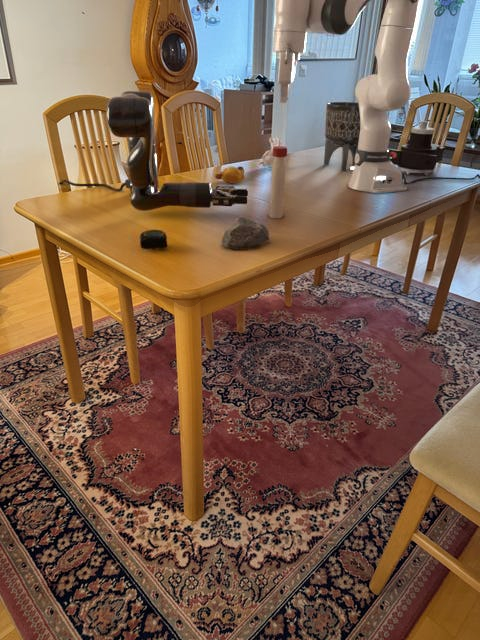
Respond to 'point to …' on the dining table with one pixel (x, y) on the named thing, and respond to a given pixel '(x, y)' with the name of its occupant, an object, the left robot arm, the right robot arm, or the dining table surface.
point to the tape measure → (153, 239)
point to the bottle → (277, 187)
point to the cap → (279, 151)
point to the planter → (342, 130)
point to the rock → (245, 234)
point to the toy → (231, 174)
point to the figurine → (269, 154)
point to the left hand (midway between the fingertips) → (247, 196)
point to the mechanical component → (418, 152)
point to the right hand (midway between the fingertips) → (284, 101)
